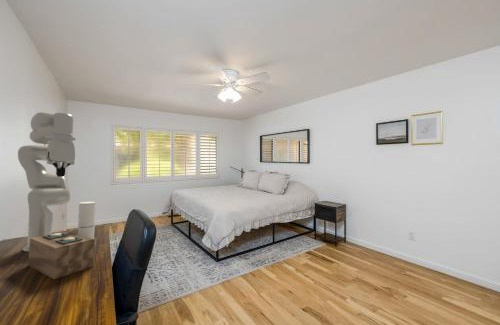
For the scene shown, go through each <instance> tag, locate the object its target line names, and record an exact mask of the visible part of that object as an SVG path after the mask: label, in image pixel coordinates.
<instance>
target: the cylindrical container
mask: <svg viewBox="0 0 500 325" xmlns="http://www.w3.org/2000/svg"><path fill="white" fill-rule="evenodd" d="M78 204H79V205H78V219H77V220H78V221H77V222H78V225H77V227H78V228H77V234H79V235H82V236H86V237H89V238H93V239H94V240H95V228H96V227H95V224H96V207H97V206H96V201H81V202H79V203H78Z"/></svg>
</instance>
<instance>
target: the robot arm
mask: <svg viewBox="0 0 500 325" xmlns="http://www.w3.org/2000/svg"><path fill="white" fill-rule="evenodd" d="M30 128H31V129H32V131H30V133H29V139H30V141H32V142H33V143H36V144H42V145H23V146H21V147H19V148H18V150H17V158H18V159H17V160H18V162H19V164H20V166H21V167H22V169H23V170H24V171H25V176H26V180H27V184H28V187H29V189H31V191H29V192H28V194H27V203H28V204H27V205H28V225H27V227H28V228H27V245H26V246H24V247H23V248H22V251H24V252H26V253H29V246H30V238H34V237H39V236H44V235H50V234H53V219H54V214H53V212H52V210H51V209H50V208H48V207H51V206H61V205H62V206H63V205H66V204H68V203H69V201H70V200H71V193H70V190H69V185H68V183H67V180H66V178H65V175H66V169H67V168H68V167H69V166H72V165H75V164H76V163H75V160H76V149H75V148H76V147H75V143H74V142H73V141H76V137H73V132H74V130H73V129H74V116H73V115H72V114H71V113H70V114H69V113H65V112H56V113H48V112H37V113H35V114H34V115H33V116H32V118H31V120H30ZM44 145H47V146H44ZM38 161H45V162H46V164H47V165H52V166H53V167H54V168H55V169H56V170H55V173H48V171H47V169H46V167H45V166H44V165H43V164H42V163H40V162H38Z"/></svg>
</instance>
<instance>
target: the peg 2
mask: <svg viewBox="0 0 500 325" xmlns="http://www.w3.org/2000/svg"><path fill="white" fill-rule="evenodd" d="M73 240H75V238H74V237H69V238H65V239H63V242H69V241H73Z"/></svg>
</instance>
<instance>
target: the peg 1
mask: <svg viewBox="0 0 500 325" xmlns="http://www.w3.org/2000/svg"><path fill="white" fill-rule="evenodd" d="M57 236H62V234H61V233H60V232H55V233H52V234H51V235H50V237H51V238H52V237H57Z"/></svg>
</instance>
